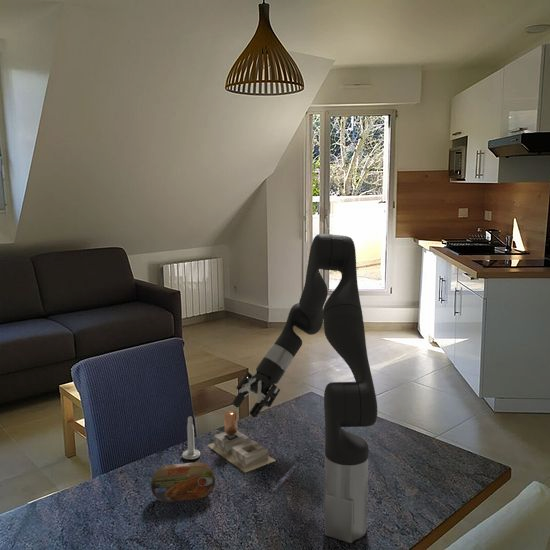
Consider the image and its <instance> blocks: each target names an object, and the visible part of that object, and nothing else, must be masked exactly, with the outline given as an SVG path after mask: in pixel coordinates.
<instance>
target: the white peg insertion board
mask: <svg viewBox="0 0 550 550" xmlns="http://www.w3.org/2000/svg"><path fill="white" fill-rule="evenodd" d="M206 446H207V447H208V448H210V449H211V450H212V451H215V452H216V453H217V454H218V455H220V456H222V457H223V458H224V459H225V460H226V461H228V462H229V463H231V464H232V465H234V466H235V467H236V468H238V469H240V471H242V472H243V473H248V472H250V471H253V470H256V469H259V468H261V467H264V466H265V465H268V464H271V463H273V462H275V461H277V460H276V459H274V458H273V457H271V456H270V455H269V449H267V448H266V447H264V446H263V445H262V444H260V443H258V442H257V441H255V440H254V439H252V440H250V439H249V436H247V435H245V434H243V433H242V432H241V431H239V430H238V432H237V433H235V439H232V440H228V434H226V433H225V431H224V432H220V433H218V434H215V435H213V443H210V444H207V445H206Z"/></svg>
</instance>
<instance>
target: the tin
mask: <svg viewBox="0 0 550 550" xmlns="http://www.w3.org/2000/svg"><path fill="white" fill-rule="evenodd" d="M215 485H216V478H215V474H214V471H213V469H212V467H210V466H209V465H208V464H207V463H205V462H200V461H195V462H184V463H175V464H166V465H163V466H161V467H159V468H158V469H157V470H156V471H155V472H154V474H153V477H152V479H151V483H150V489H151V493H152V494H153V496H154V498H156V499H157V500H158V501H161V502H164V503H173V502H174V503H175V502H184V501H190V500H191V501H194V500H200V499H203V498H206V497H208V496H209V494H211V493H212V491H213V490H214V487H215Z"/></svg>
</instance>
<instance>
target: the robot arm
mask: <svg viewBox="0 0 550 550" xmlns="http://www.w3.org/2000/svg"><path fill="white" fill-rule="evenodd" d="M355 245H356V244H355V242H354V239H352V237H349V236H347V235H340V234H330V233H329V234H328V233H318V234H316V235H315V236H314V238H313V239H312V242H311V245H310V246H311V247H310V250H309V256H308V261H307V267H306V275H305V280H304V281H305V282H304V286H303V290H302V292H301V295H300V298H299V302H298V303H295V304H293V306H291V308H290V310H289V311H288V312H289V313H288V316H287V319H286V322H285V325H284V327H283V330H282V331H281V333H280V335H279V336H278V338H276V341H275V342H274V343H273V345H272V346H271V347H270V348H269V349H268V351H267V352H266V354H265V355H264V357H263V358H262V359H261V361H260V363H258V365H257V367H256V368H255V371H256V373H255V374H254V375H253V374H252V373H250V371H249V372H247V373H246V374H245V375H244V377H242V379H241V381H240V382H239V383H238V384H237V386H236V390H237V391H238V393H237V394H236V396H235V398H234V399H233V401H232V405H233V406H234V407H236V408H238V409H239V407H240V406H241V404H242V403H243V401H244V400H245V398H246V397H247V396H249V395H253V394H256V395H257V401H256V402H255V404H254V405H253V406H252V408H251V410H250V411H249V413H248V415H250V416H251V417H252V418H256V417H257V416H258V415H259V414H260V412H261V410H262V409H263V408H265V407H267V408H270V407H271V406H272V405H273V402H274V401H275V399H276V398H277V396H278V395H279V393H280V391H281V389H280V388H279V387H278V386H277V384H278V383H279V382H280V381H281V379H282V378H283V376H284V375H285V373H286V372H287V370H288V368H289V366H290V365H291V363H292V361H293V360H294V357H295V356H297V355H296V354H298V352H299V350H300V349H301V348H302V345H303V340H302V338H301V337H300V336H299V335H298V334H297V333H296V332H295V330H294V327H296V328H297V329H299V330H300V331H302V332H304V333H306V334H307V335H311V336H312V335H316V334H317V333H318V332H320V330H321V328H322V327H323V331H324V335H325V339H326V340H327V341H328V343H329V345H330V346H331V347H332V348H333V349H334V351H336V353H337V354H338V355H339V356H340V357H341V358H342V360H343V361H344V362H345V363H346V364H347V366H348V368H349V369H350V371H351V373H352V375H353V378H354V381H338V382H337V381H334V382H329V383H327V384H326V386H325V388H324V394H323V410H324V411H323V412H324V425H325V426H324V429H325V430H324V433H325V434H324V441H325V442H324V504H323V505H324V509H323V510H324V514H323V515H324V519H323V521H324V525H323V526H324V536H326V537H330V538H332V539H336V540H339V541H342V542H345V543H349V544H352V543H353V542H354V541H356V540H359V539H361V538H362V537H364V536H365V535H366V534H367V529H368V527H367V526H368V490H369V489H368V488H369V487H368V484H369V483H368V479H369V478H368V477H369V445H368V442H367V441H366V439H365V438H362V437H361V436H359V435H357V434H354V433H352V432H349V431H347V430H345V429H343V428H363V427H365V428H366V427H371V426H373V425H375V424H376V422H377V419H378V401H377V400H378V399H377V394H376V390H375V385H374V382H373V381H374V380H373V376H372V372H371V371H372V370H371V368H370V362H369V357H368V350H367V342H366V333H365V332H366V331H365V324H364V315H363V310H362V305H361V300H360V294H359V286H358V274H357V272H358V271H357V254H356V246H355ZM320 270H322V271H323V270H324V271H334V272H335V271H336V272H340V274H341V277H340V280H339V282H338V284H337V285H336V287H335V288H334V290H333V291H332V292H331V294H330V295H329V293H328V291H329V289H328V286H327V283H326V281H325V279H324V278H323V276H322V274H321V272H320ZM328 295H329V296H328Z"/></svg>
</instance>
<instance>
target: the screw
mask: <svg viewBox="0 0 550 550" xmlns="http://www.w3.org/2000/svg"><path fill="white" fill-rule="evenodd" d="M193 422H194V421H193V416H188V417H187V426H186V434H187V435H186V436H187V437H186V438H187V449H186V450H185V451H183V452H182V454H181V455H182V458H183V459H185V460H189V461H190V460H195V459H198V458H199V457H200V456H201V452H200V450H199V449H195V431H194V430H195V426H194V424H193Z"/></svg>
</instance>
